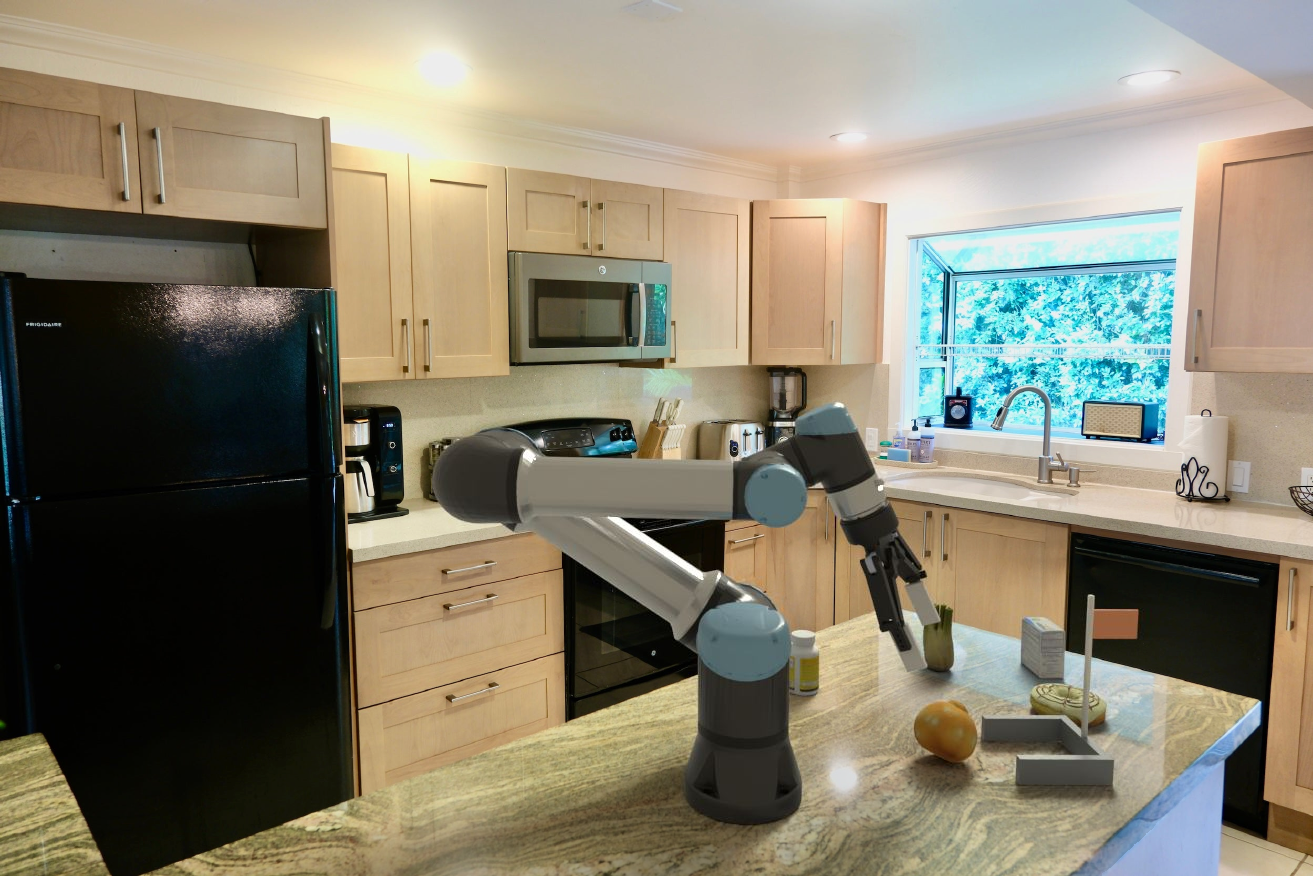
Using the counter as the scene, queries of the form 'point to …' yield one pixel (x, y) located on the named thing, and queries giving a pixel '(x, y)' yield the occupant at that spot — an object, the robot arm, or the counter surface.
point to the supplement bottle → (804, 664)
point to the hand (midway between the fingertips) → (924, 645)
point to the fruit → (946, 730)
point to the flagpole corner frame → (1065, 721)
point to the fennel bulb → (939, 640)
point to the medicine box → (1043, 647)
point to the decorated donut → (1066, 702)
